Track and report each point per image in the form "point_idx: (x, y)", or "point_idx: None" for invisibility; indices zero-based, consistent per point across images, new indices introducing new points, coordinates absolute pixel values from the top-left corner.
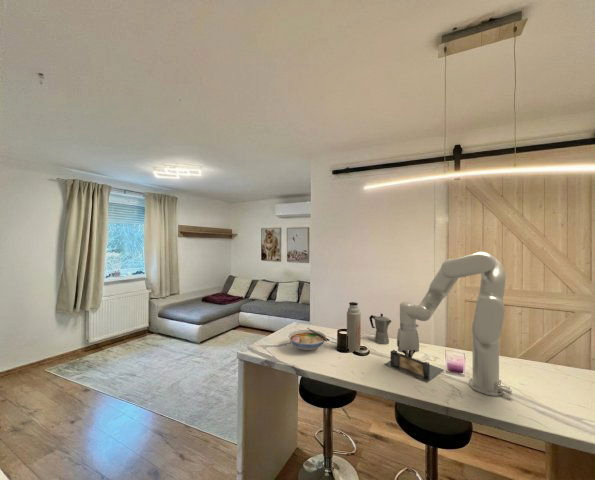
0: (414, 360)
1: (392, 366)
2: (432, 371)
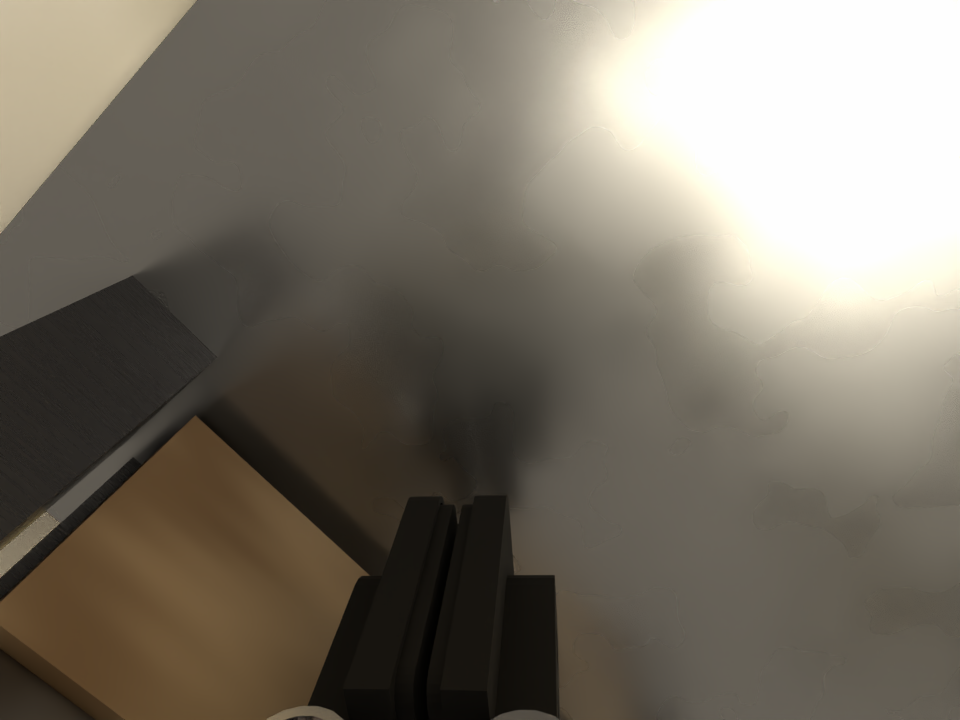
0: None
1: (76, 501)
2: (945, 715)
